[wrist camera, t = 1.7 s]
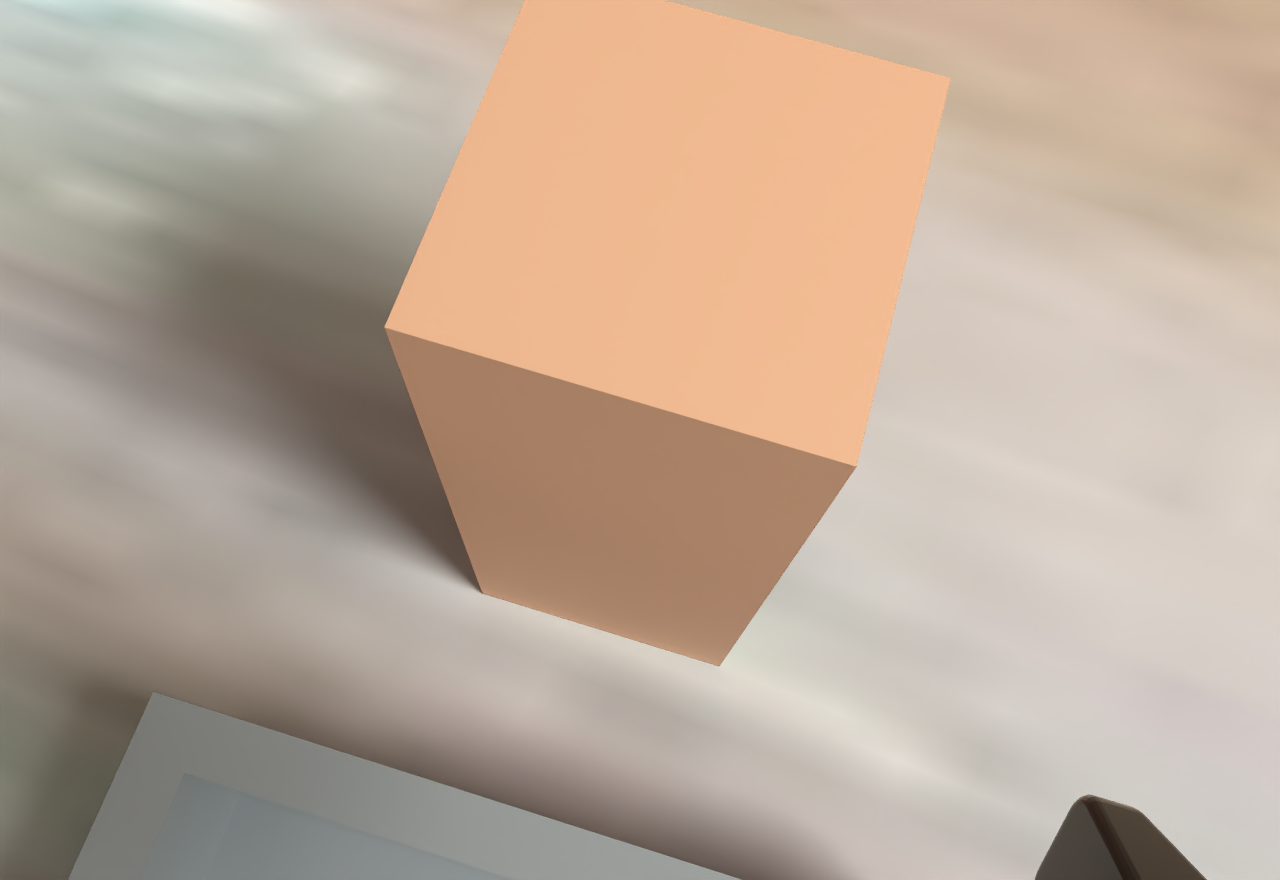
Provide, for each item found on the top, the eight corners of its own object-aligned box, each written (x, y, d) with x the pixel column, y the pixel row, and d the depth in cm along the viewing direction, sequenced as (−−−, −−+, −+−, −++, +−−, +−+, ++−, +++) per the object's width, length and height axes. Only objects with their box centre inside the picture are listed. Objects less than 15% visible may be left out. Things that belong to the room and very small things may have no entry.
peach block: (719, 665, 22) (857, 467, 11) (482, 593, 23) (384, 326, 11) (779, 443, 24) (950, 77, 13) (559, 378, 24) (539, -34, 13)
